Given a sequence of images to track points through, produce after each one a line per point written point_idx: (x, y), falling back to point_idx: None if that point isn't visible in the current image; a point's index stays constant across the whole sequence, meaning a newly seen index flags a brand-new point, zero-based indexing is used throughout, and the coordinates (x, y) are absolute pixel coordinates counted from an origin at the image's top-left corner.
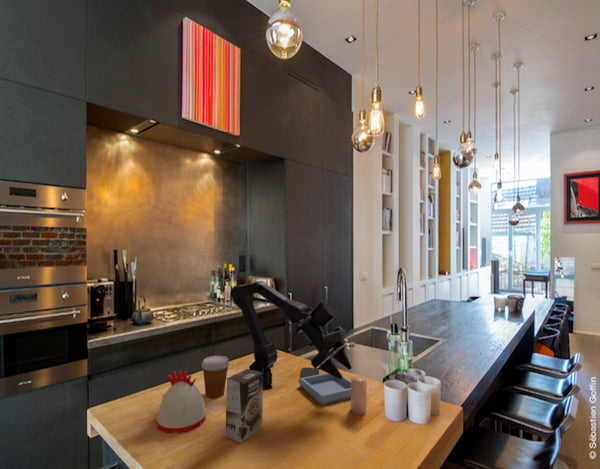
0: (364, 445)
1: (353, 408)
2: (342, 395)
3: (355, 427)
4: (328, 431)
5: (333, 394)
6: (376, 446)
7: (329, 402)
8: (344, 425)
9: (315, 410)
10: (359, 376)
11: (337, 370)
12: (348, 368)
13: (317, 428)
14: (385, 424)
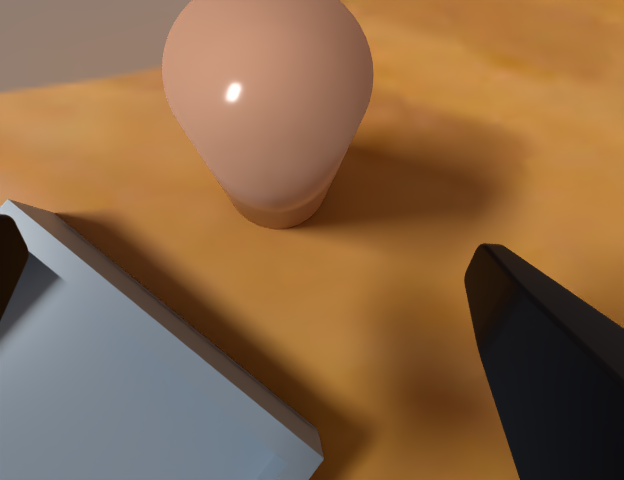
0: (605, 76)
1: (325, 195)
2: (172, 321)
3: (475, 151)
4: (582, 278)
5: (234, 382)
6: (584, 23)
7: (268, 390)
8: (484, 213)
9: (403, 442)
10: (170, 81)
11: (618, 330)
12: (19, 269)
13: None
14: (368, 7)
